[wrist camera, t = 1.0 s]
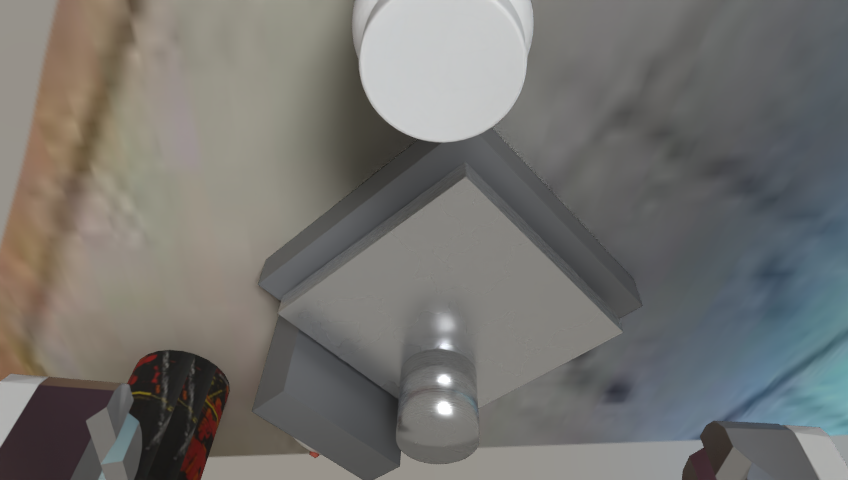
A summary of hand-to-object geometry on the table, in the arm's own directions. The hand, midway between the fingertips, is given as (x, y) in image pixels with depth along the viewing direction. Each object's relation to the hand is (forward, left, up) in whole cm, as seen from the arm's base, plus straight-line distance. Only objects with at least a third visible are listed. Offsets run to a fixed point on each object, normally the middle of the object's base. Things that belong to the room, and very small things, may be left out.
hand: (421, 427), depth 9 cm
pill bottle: (0, 0, -22) cm, 22 cm away
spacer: (+13, +14, -17) cm, 26 cm away
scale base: (+11, +12, -21) cm, 27 cm away
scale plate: (+10, +12, -19) cm, 24 cm away
